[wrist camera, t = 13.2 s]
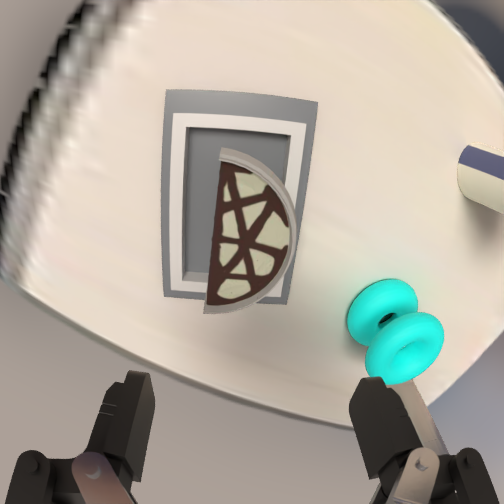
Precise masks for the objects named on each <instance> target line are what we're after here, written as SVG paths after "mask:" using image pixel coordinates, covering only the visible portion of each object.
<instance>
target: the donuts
mask: <svg viewBox="0 0 504 504" xmlns="http://www.w3.org/2000/svg"><path fill="white" fill-rule="evenodd" d="M417 310H418V300H417V296H416V294H415V292H414V290H413V289H412V287H411V286H410V285H408V284H407V283H405V282H403V281H400V280H395V279H389V280H383V281H379V282H377V283H375V284H373V285H371V286H369V287H368V288H366V289H365V290H364V291H362V292H361V293H360V294H359V295H358V297H357V298H356V299H355V300H354V302H353V304H352V305H351V307H350V310H349V313H348V318H347V325H348V330H349V332H350V334H351V336H352V337H353V338H354V339H355V340H356V341H357V342H358V343H360V344H362V345H365V346H369V347H368V350H367V352H366V357H365V366H366V370H367V373H368V374H369V376H370V377H377V376H380V377H382V379H383V380H384V382H385V385H395V384H400V383H403V382H406V381H409V380H411V379H413V378H415V377H416V376H418V375H420V374H421V373H422V372H424V371H425V370H426V369H427V368H428V367H429V366H430V365H431V364H432V363H433V362H434V361H435V359H436V358H437V356H438V355H439V353H440V351H441V349H442V346H443V342H444V330H443V327H442V324H441V323H440V321H439V320H438V319H437V318H436V317H434V316H433V315H431V314H428V313H423V312H417ZM389 313H394V314H393V315H392V316H391V317H390V318H389V319H388V320H387V321H385V322H383V323H380V324H378V323H379V321H380V320H381V319H382V318H383V317H384V316H385V315H387V314H389ZM404 346H405V347H404ZM403 347H404V348H403ZM401 348H402V349H401Z"/></svg>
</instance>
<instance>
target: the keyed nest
mask: <svg viewBox="0 0 504 504" xmlns="http://www.w3.org/2000/svg"><path fill="white" fill-rule="evenodd" d="M317 107H318V102H314V101H308V100H302V99H296V98H289V97H281V96H274V95H265V94H255V93H245V92H232V91H215V90H166V97H165V109H164V124H163V142H162V167H161V245H162V271H163V290H164V297H174V298H186V299H199V300H205V297H206V290H207V283H208V275H209V266H210V262H209V260H210V257H211V253H210V252H211V247H212V240H211V238H212V236H213V228H214V216H215V209H216V199H217V191H218V189H217V187H218V183H219V171H220V165H221V161H220V160H219V157H220V151H221V148H222V147H223V148H228V149H233V150H237V151H239V152H242V153H245V154H248V155H250V156H251V157H253V158H255V159H257V160H258V161H260V162H262V163H263V164H264V165H265V166H267V167H268V168H269V169H270V170H272V171H273V172H274V174H275V175H276V176H277V177H278V178H279V179H280V180H281V181H282V183H283V185H284V186H285V188H286V190H287V191H288V193H289V195H290V197H291V200H292V202H293V205H294V209H295V214H296V219H297V237H296V245H295V251H294V255H293V258H292V261H291V263H290V265H289V267H288V269H287V271H286V273H285V275H284V276H283V277H282V279H281V280H280V281H279V283H278V284H277V286H276V287H275V288H274V289H273V290H272V291H271V292H270V293H269V294H267V295H266V296H265V297H263V298H262V299H261V300H259V301H258V302H256V303H263V304H285V305H287V300H288V294H289V289H290V284H291V278H292V273H293V267H294V262H295V256H296V250H297V245H298V239H299V233H300V227H301V221H302V214H303V208H304V202H305V195H306V189H307V182H308V175H309V168H310V161H311V154H312V147H313V139H314V131H315V123H316V115H317Z"/></svg>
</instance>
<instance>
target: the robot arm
mask: <svg viewBox="0 0 504 504" xmlns="http://www.w3.org/2000/svg"><path fill="white" fill-rule="evenodd" d="M154 410H155V396H154V392H153V388H152V383H151V378H150V374H149V373H145V372H138V371H132V370H129V371H128V373H127V376H126V379H125V381H124V383H119V382H115V383H114V384H113V385H112V386H111V387H110V388H109V389H108V390H107V391H106V394H105V396H104V399H103V402H102V405H101V407H100V410H99V414H98V416H97V419H96V422H95V425H94V427H93V430H92V433H91V436H90V440H89V443H88V446H87V448H86V449H85V451H84V452H83V453H81V454H80V455H78V456H77V457H75V458H72V459H47V458H46V457H45V456H44V455H43V454H42V453H41V452H38V451H35V450H29V451H25V452H23V453H22V454H21V455H20V456H19V458H18V460H17V463H16V466H15V469H14V472H13V475H12V479H11V483H10V486H9V490H8V494H7V497H6V502H5V504H138V502H137V501H136V499H135V498H134V496H133V495H132V493H131V491H130V490H131V484H132V481H136V482H141V477H142V472H143V466H144V461H145V455H146V450H147V444H148V440H149V435H150V429H151V425H152V420H153V415H154ZM349 414H350V417H351V421H352V424H353V427H354V430H355V433H356V437H357V440H358V443H359V446H360V449H361V453H362V456H363V460H364V463H365V466H366V469H367V473H368V477H369V479H374V478H378V477H379V479H380V483H379V485H378V487H377V489H376V491H375V493H374V495H373V497H372V499H371V501H370V503H369V504H499V501H498V498H497V495H496V493H495V490H494V487H493V484H492V482H491V479H490V476H489V474H488V471H487V469H486V467H485V464H484V462H483V459H482V457H481V455H480V453H479V452H478V451H477V450H475V449H473V448H464V449H462V450H461V451H460V452H459V453H458V454H457V455H449V452H448V450H447V448H446V446H445V444H444V441H443V440H442V437H441V435H440V433H439V431H438V429H437V427H436V425H435V423H434V421H433V419H432V417H431V415H430V413H429V411H428V409H427V407H426V405H425V403H424V401H423V399H422V397H421V395H420V393H419V391H418V389H417V387H416V385H415V384H414V382H413V380H412V379H411V380H409V381H406V382H403V383H400V384H395V385H385V382H384V380H383V379H382V377H380V376H377V377H367V378H362V379H361V380H360V382H359V384H358V386H357V388H356V390H355V392H354V394H353V396H352V398H351V400H350V403H349ZM455 490H456V491H457V493H455Z"/></svg>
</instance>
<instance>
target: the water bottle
mask: <svg viewBox="0 0 504 504" xmlns="http://www.w3.org/2000/svg"><path fill="white" fill-rule="evenodd" d="M457 180H458V184H459V188H460V190H461V192H462V193H463V195H464V196H465V197H467V198H468V199H470V200H473V201H475V202H478V203H480V204H482V205H485V206H487V207H489V208H491V209H493V210H495V211H497V212H499V213H501V214H503V215H504V151H503V150H500V149H497V148H494V147H492V146H489V145H486V144H483V143H480V142H474V143H471V144H469V145H468V146H467V147H466V148H465V149H464V150H463V152H462V154H461V156H460V159H459V162H458V167H457Z"/></svg>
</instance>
